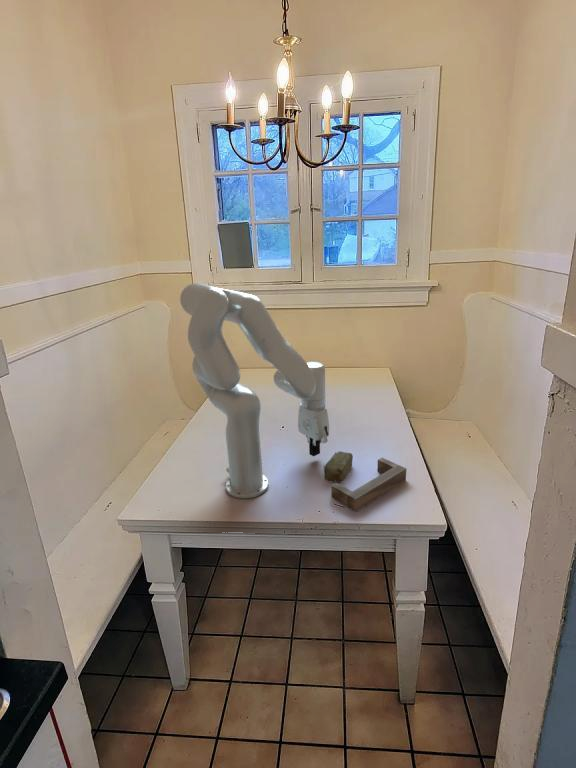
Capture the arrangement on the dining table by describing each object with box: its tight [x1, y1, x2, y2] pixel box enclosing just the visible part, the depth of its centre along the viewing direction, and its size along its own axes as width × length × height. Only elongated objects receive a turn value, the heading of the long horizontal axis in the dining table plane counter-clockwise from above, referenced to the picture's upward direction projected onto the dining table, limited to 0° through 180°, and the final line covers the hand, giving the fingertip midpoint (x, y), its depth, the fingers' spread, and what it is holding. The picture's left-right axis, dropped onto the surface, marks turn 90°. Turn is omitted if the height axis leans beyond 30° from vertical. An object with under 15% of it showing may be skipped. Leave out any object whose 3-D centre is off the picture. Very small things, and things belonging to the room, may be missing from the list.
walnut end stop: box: [330, 457, 407, 513], centre depth 130 cm, size 9×22×4 cm, turn 130°
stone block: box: [323, 451, 354, 484], centre depth 138 cm, size 6×12×5 cm, turn 155°
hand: (314, 454), depth 146 cm, fingers closed
